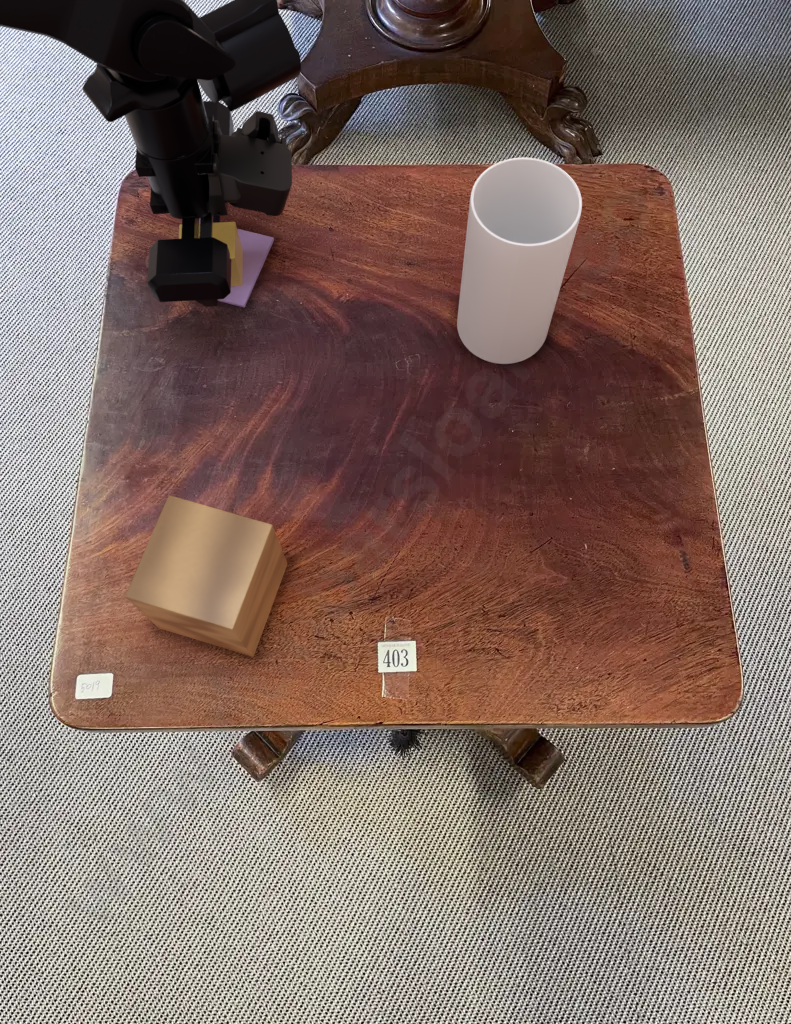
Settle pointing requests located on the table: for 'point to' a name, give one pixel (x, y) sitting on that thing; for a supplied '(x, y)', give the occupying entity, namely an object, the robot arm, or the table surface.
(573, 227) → the cup
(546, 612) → the table surface
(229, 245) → the cheese
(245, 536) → the stand
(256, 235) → the towel
